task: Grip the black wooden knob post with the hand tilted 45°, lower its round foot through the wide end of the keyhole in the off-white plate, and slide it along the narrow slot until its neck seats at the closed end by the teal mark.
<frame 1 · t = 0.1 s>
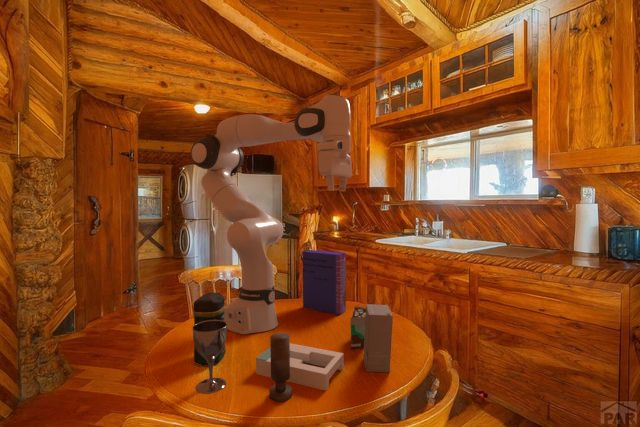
hand: (337, 191, 109), 48 cm above the table, tool pointing down, fingers open, 8 cm apart
knob post: (280, 395, 80), on the table
coffee jar: (210, 359, 99), on the table
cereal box: (324, 310, 141), on the table
wine glass: (211, 386, 85), on the table
skincare box: (377, 366, 94), on the table
food container: (362, 344, 108), on the table
keyhole plate: (300, 370, 91), on the table
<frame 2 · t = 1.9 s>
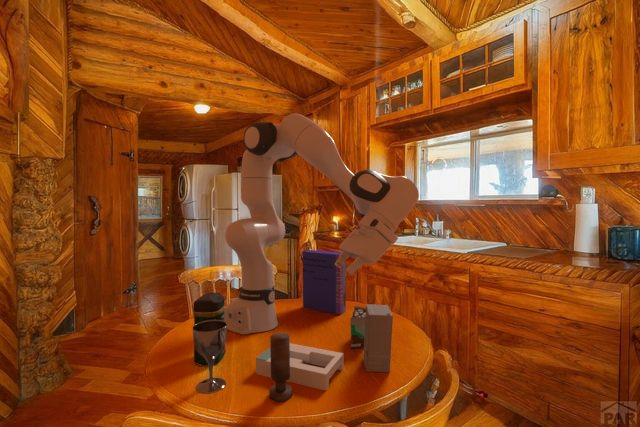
hand: (342, 269, 89), 27 cm above the table, tool tilted 40°, fingers open, 8 cm apart
nothing on the table moved.
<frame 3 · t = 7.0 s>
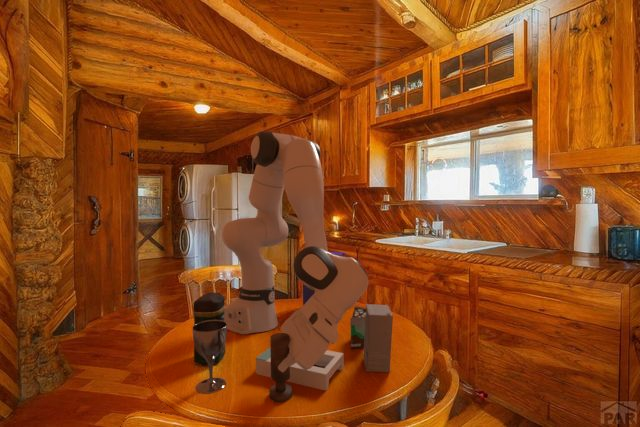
hand: (277, 363, 79), 8 cm above the table, tool tilted 45°, fingers closed on knob post, 4 cm apart
knob post: (280, 395, 80), on the table, touching gripper
everything else where it was.
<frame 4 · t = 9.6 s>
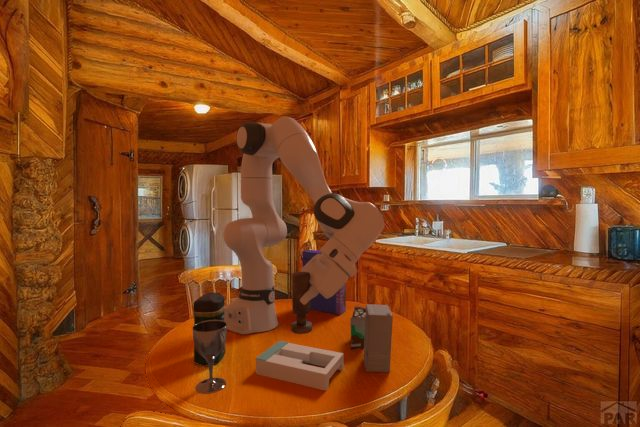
hand: (298, 298, 84), 21 cm above the table, tool tilted 45°, fingers closed on knob post, 4 cm apart
knob post: (301, 329, 85), point 13 cm above the table, touching gripper
everything else where it was.
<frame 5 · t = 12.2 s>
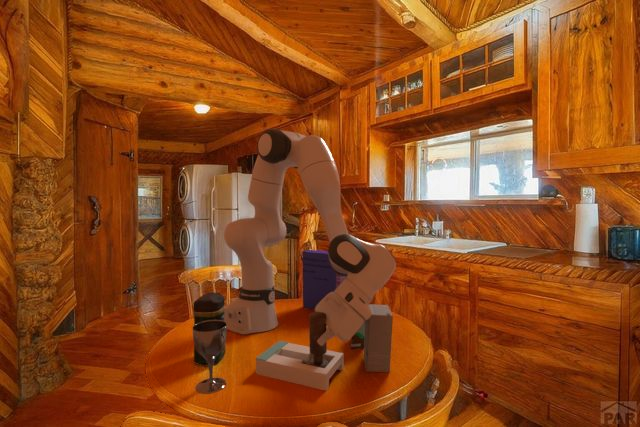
hand: (315, 338, 89), 10 cm above the table, tool tilted 45°, fingers closed on knob post, 4 cm apart
knob post: (318, 367, 89), point 2 cm above the table, touching gripper
everything else where it was.
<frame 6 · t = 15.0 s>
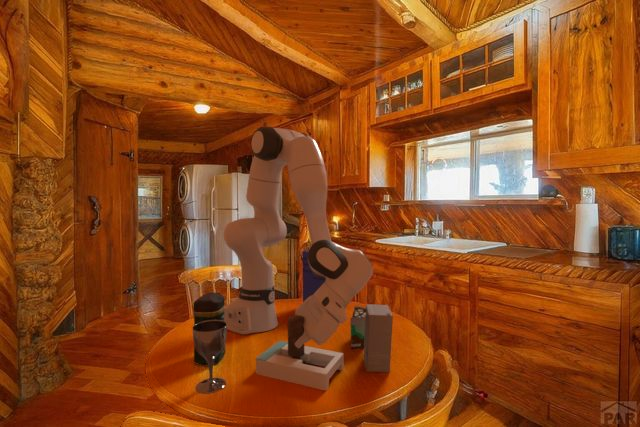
hand: (293, 341, 91), 8 cm above the table, tool tilted 45°, fingers closed on knob post, 4 cm apart
knob post: (296, 369, 92), resting in keyhole plate, touching gripper
everything else where it was.
when the fingers open (8 cm above the table, at t = 17.5 s): knob post stays where it is, resting in keyhole plate.
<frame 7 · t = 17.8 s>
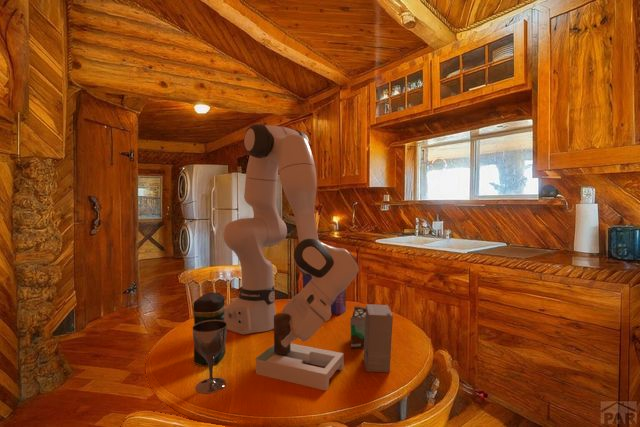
hand: (279, 338, 93), 8 cm above the table, tool tilted 45°, fingers open, 7 cm apart
knob post: (282, 366, 94), resting in keyhole plate
everything else where it was.
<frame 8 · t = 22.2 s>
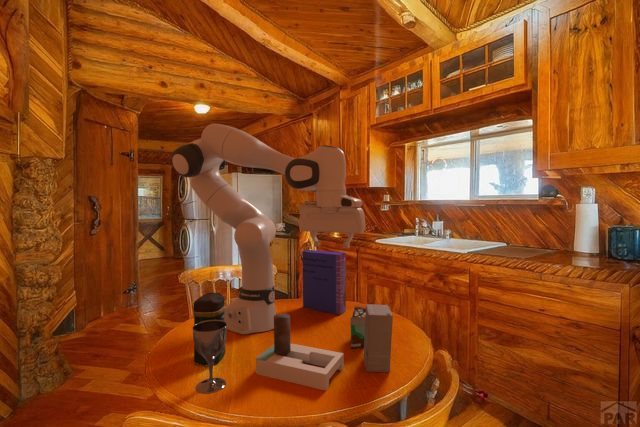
hand: (331, 247, 102), 31 cm above the table, tool pointing down, fingers open, 8 cm apart
nothing on the table moved.
at the end: knob post 0.2 cm from the target spot on the keyhole plate, point 0.0 cm above the keyhole plate's base; knob post tilted 0°; the gripper is holding nothing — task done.
